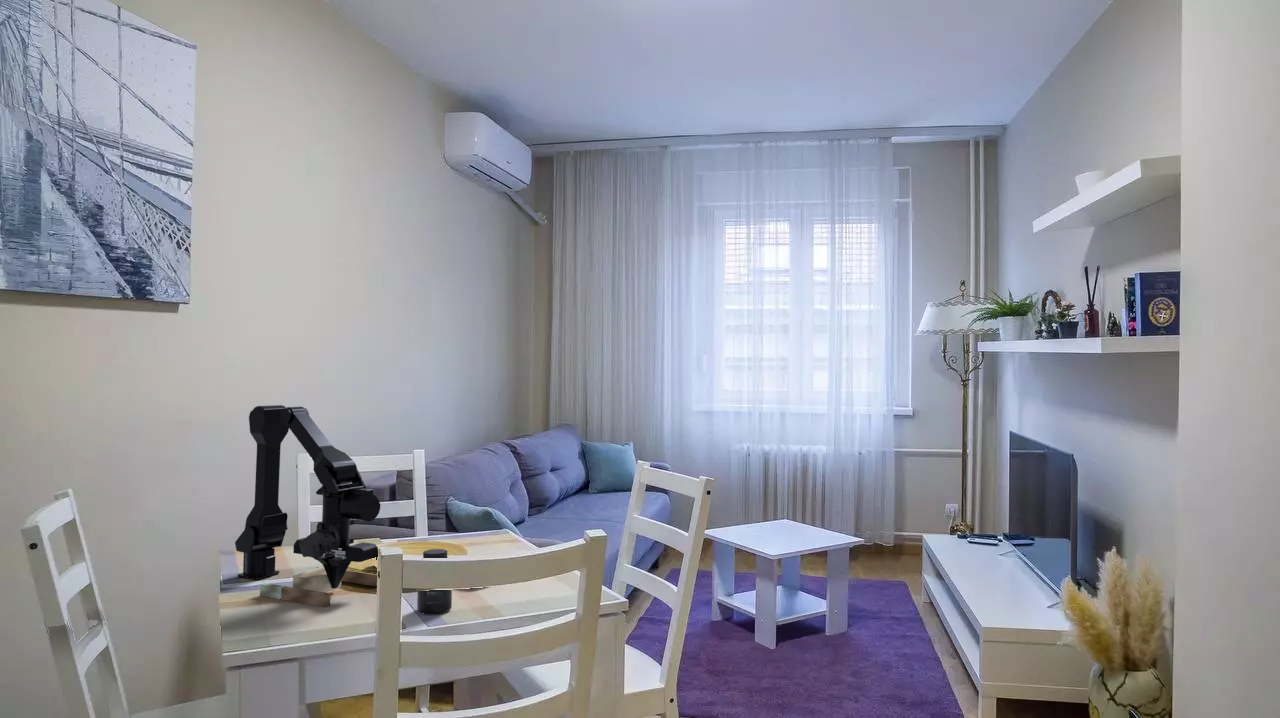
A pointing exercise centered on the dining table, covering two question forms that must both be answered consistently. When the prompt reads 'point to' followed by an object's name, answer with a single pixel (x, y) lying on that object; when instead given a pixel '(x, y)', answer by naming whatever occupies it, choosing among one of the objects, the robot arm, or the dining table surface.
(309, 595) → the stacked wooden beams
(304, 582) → the light wood block
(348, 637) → the dining table surface
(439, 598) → the supplement bottle
